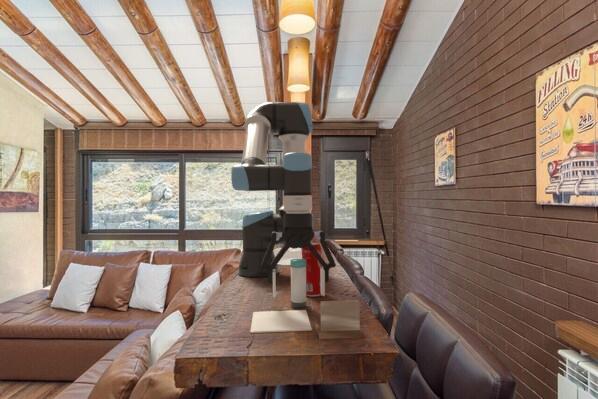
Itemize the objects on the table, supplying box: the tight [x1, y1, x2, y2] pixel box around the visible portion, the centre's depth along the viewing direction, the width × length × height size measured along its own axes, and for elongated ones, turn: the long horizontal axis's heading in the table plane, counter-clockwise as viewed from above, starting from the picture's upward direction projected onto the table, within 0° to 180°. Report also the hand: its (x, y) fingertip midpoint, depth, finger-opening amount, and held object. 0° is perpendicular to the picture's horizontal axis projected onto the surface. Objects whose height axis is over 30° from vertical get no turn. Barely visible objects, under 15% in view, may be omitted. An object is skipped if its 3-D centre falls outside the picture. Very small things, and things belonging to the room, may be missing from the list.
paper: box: [250, 309, 313, 334], centre depth 75 cm, size 12×13×1 cm
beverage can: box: [300, 242, 323, 297], centre depth 96 cm, size 6×6×15 cm
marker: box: [289, 258, 307, 310], centre depth 86 cm, size 4×4×12 cm
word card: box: [317, 299, 365, 340], centre depth 67 cm, size 3×9×7 cm, turn 95°
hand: (298, 295), depth 86 cm, fingers open, 12 cm apart
